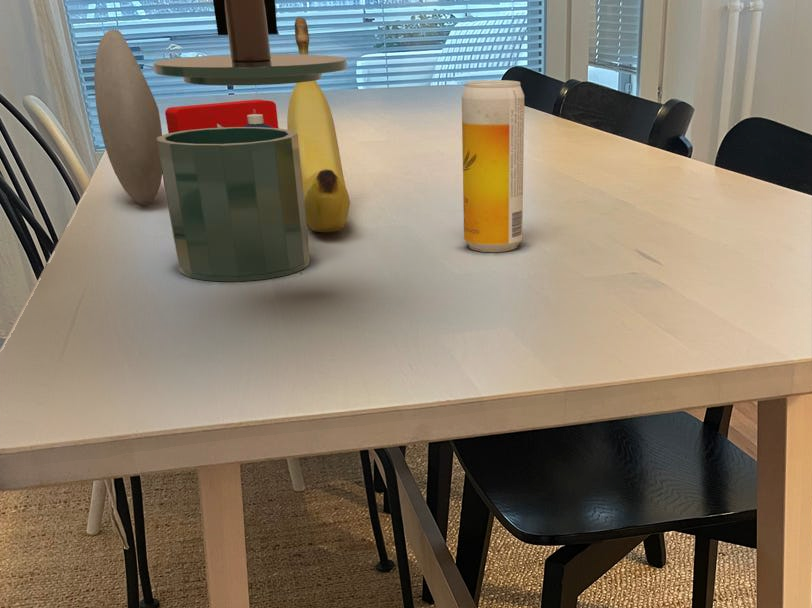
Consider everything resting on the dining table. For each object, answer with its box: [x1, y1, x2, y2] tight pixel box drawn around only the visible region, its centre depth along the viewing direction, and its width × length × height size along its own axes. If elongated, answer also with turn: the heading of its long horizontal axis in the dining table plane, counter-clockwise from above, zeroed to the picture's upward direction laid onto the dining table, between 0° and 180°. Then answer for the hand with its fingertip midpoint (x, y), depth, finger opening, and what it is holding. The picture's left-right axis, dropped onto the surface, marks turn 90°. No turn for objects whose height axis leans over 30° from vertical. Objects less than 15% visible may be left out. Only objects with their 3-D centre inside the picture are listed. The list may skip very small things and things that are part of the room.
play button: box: [164, 99, 279, 134], centre depth 132 cm, size 15×3×10 cm, turn 133°
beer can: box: [461, 79, 525, 253], centre depth 99 cm, size 6×6×15 cm
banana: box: [286, 16, 351, 233], centre depth 107 cm, size 23×6×20 cm, turn 12°
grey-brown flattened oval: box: [93, 29, 163, 205], centre depth 120 cm, size 18×7×19 cm, turn 21°
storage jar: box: [156, 127, 311, 283], centre depth 94 cm, size 13×13×12 cm
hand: (245, 18), depth 72 cm, fingers closed on jar lid, 3 cm apart
